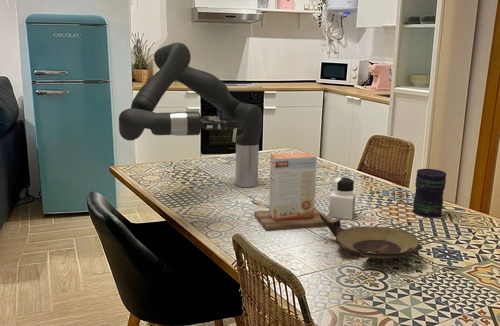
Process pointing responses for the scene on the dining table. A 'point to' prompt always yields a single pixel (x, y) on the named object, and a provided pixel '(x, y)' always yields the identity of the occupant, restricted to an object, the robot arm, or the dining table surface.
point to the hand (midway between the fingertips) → (234, 122)
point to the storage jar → (429, 193)
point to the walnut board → (288, 221)
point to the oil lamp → (373, 240)
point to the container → (342, 199)
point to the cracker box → (292, 186)
